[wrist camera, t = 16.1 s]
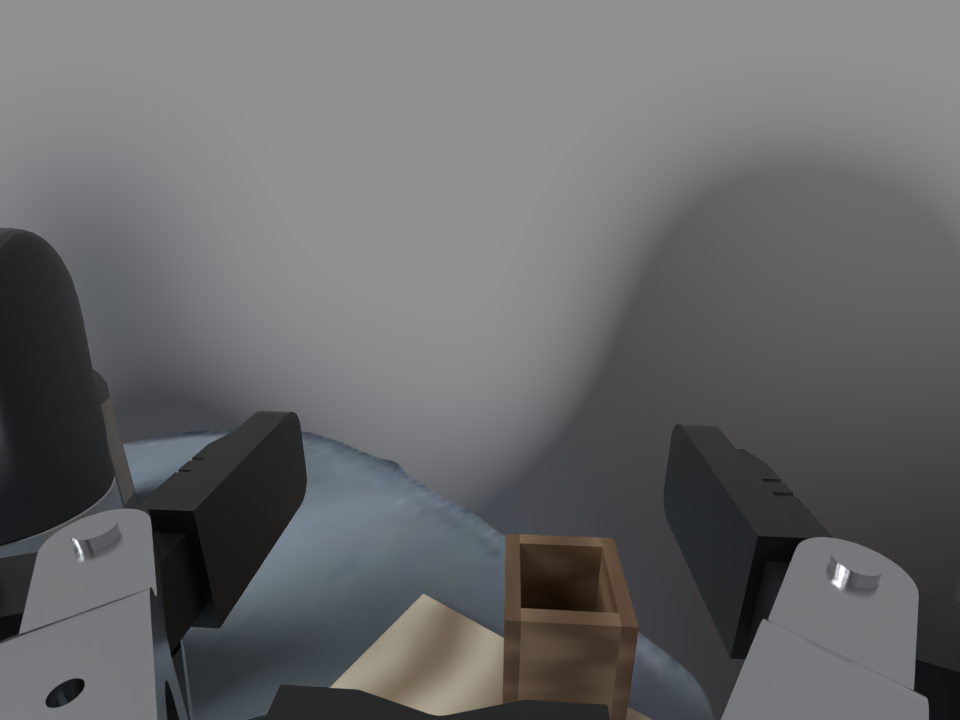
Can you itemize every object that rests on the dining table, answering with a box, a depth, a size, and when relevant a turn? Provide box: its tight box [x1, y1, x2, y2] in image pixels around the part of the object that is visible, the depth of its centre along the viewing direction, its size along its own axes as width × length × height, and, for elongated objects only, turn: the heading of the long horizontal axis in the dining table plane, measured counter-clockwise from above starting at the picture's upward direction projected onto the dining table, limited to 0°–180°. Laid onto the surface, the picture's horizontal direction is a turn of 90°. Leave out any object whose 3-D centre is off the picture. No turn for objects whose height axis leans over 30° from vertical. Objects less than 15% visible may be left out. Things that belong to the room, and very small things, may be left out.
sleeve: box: [502, 534, 639, 720], centre depth 30 cm, size 6×6×14 cm
